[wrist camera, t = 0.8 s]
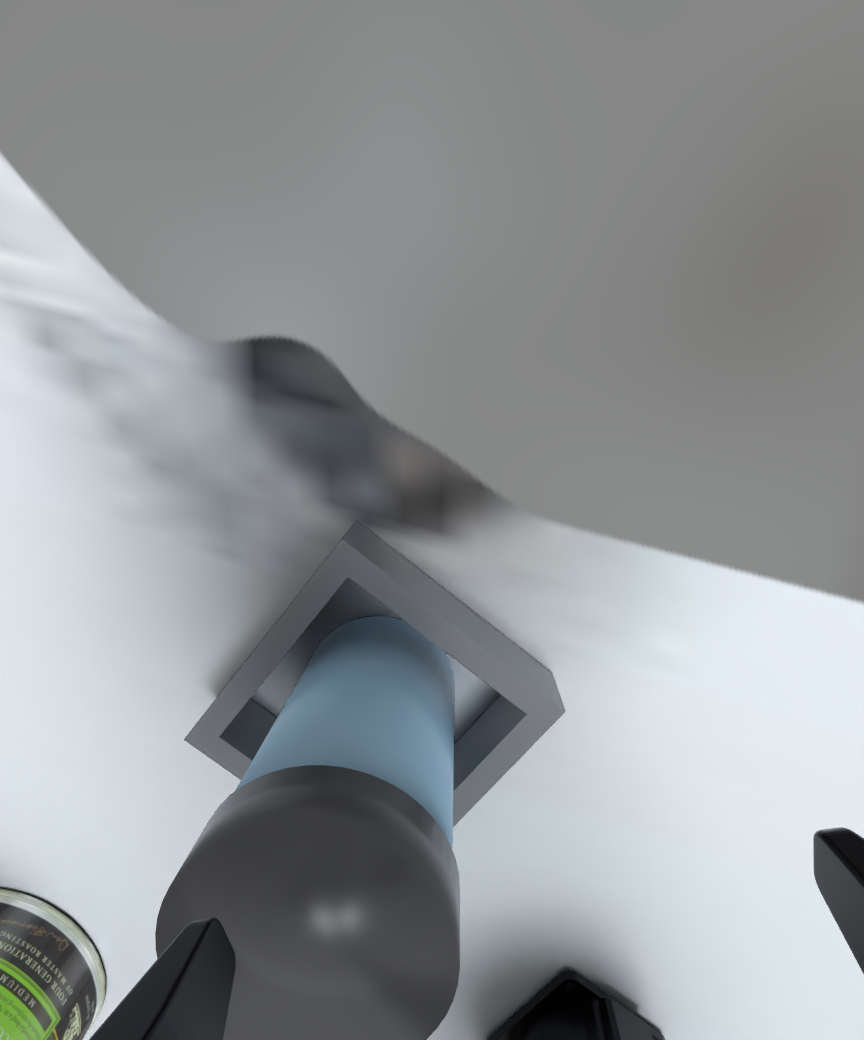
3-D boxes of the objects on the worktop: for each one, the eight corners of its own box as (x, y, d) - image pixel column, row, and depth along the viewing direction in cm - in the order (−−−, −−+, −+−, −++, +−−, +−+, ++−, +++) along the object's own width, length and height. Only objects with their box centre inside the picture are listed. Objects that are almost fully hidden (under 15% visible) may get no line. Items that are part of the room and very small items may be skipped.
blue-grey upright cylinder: (394, 782, 25) (337, 1121, 13) (273, 694, 24) (99, 967, 13) (491, 676, 24) (523, 949, 12) (365, 580, 23) (268, 767, 11)
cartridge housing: (401, 831, 25) (394, 887, 23) (216, 698, 24) (183, 739, 22) (552, 672, 23) (565, 711, 20) (356, 520, 22) (341, 539, 20)
